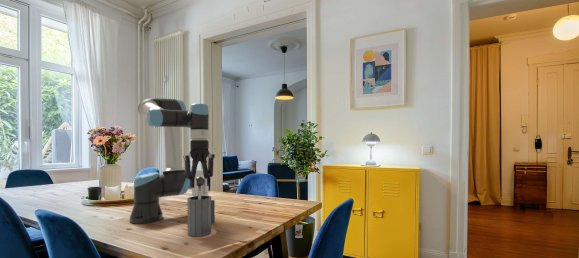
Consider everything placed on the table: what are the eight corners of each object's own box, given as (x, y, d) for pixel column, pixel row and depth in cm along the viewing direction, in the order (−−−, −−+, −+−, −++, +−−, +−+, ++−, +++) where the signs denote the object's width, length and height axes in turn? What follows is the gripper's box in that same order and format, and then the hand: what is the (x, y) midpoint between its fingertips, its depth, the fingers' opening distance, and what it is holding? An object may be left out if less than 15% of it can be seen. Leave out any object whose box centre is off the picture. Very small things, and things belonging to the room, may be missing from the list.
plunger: (189, 222, 120) (189, 177, 121) (202, 219, 125) (202, 175, 125) (196, 225, 116) (196, 178, 117) (209, 222, 120) (209, 176, 121)
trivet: (176, 235, 120) (176, 233, 120) (206, 227, 130) (206, 226, 130) (190, 243, 110) (190, 241, 110) (222, 234, 120) (222, 233, 120)
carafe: (183, 233, 120) (183, 197, 121) (208, 227, 128) (208, 194, 129) (193, 238, 113) (193, 201, 114) (219, 232, 121) (219, 196, 122)
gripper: (183, 139, 113) (183, 198, 112) (221, 139, 125) (221, 193, 124) (176, 140, 119) (176, 196, 118) (213, 139, 131) (213, 191, 129)
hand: (199, 194), depth 121 cm, fingers closed on plunger, 4 cm apart
